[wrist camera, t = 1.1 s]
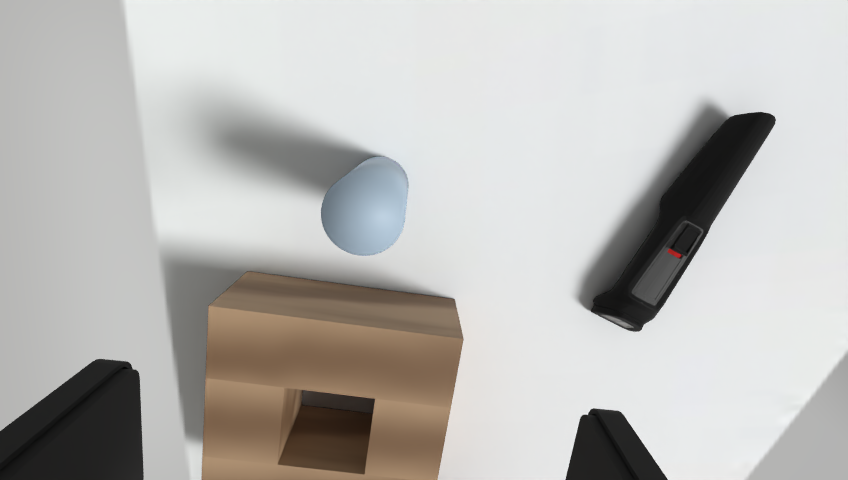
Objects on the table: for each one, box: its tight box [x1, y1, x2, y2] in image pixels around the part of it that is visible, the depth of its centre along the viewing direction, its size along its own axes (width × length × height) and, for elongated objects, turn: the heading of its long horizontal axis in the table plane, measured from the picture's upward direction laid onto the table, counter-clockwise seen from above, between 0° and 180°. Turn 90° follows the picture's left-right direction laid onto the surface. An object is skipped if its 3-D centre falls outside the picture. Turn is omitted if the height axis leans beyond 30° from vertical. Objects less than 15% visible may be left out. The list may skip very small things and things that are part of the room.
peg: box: [321, 156, 408, 256], centre depth 25 cm, size 4×4×10 cm
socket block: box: [202, 271, 463, 480], centre depth 30 cm, size 14×14×6 cm
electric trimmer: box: [591, 112, 776, 332], centre depth 29 cm, size 4×16×3 cm, turn 152°
